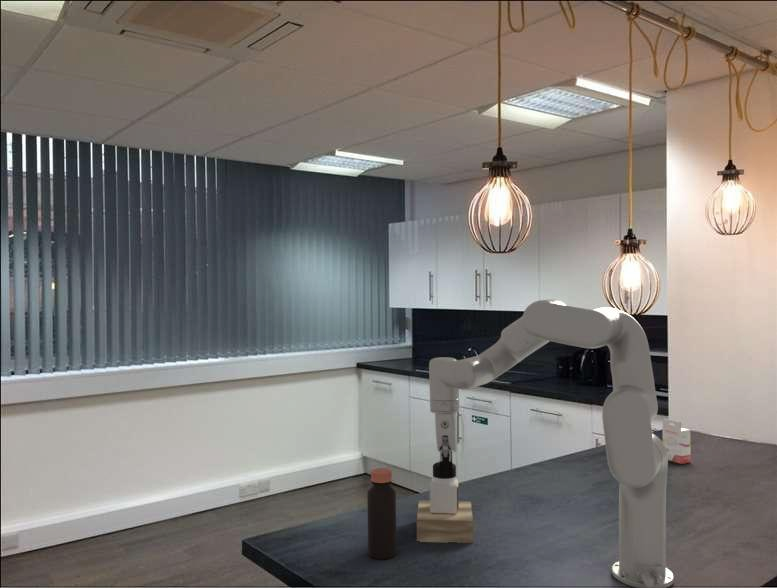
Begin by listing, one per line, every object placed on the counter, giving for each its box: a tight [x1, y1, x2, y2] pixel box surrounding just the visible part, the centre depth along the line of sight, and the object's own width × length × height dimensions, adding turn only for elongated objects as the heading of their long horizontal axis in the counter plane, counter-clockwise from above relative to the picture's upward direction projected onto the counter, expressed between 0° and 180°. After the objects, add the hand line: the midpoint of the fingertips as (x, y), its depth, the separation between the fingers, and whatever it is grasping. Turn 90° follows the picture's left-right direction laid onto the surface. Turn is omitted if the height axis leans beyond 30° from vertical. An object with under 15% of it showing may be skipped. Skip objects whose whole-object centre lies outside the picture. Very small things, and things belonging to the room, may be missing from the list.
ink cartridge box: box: [662, 418, 692, 465], centre depth 231 cm, size 9×5×15 cm, turn 25°
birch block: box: [416, 500, 474, 544], centre depth 168 cm, size 14×14×6 cm
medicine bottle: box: [429, 461, 460, 514], centre depth 169 cm, size 7×7×12 cm
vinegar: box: [366, 467, 397, 560], centre depth 155 cm, size 7×7×20 cm
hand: (446, 471), depth 168 cm, fingers open, 9 cm apart
